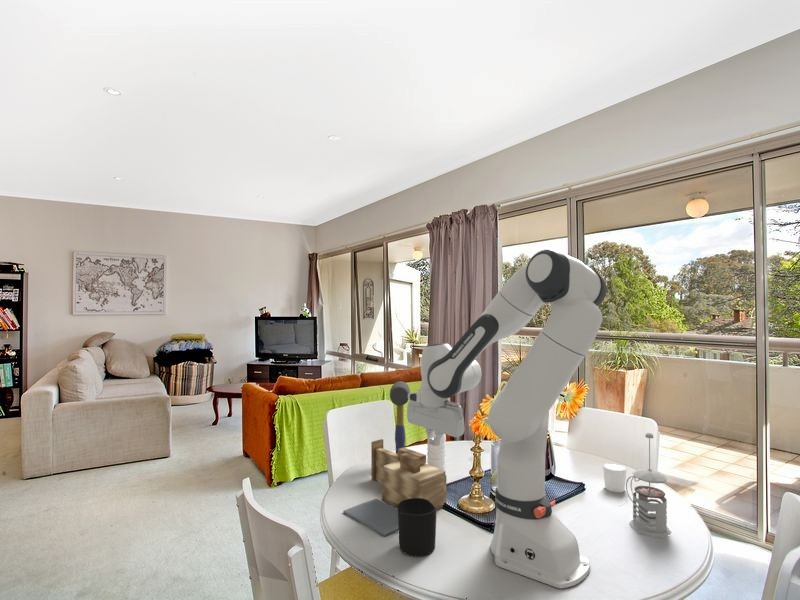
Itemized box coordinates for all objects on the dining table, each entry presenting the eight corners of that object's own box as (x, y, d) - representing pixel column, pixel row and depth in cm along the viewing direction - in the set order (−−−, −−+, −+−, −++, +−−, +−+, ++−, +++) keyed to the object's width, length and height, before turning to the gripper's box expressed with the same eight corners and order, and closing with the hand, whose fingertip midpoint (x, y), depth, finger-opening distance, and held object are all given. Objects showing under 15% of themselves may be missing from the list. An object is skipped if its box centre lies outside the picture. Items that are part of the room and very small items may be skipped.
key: (426, 463, 139) (426, 455, 139) (420, 465, 137) (420, 456, 137) (403, 455, 146) (403, 447, 146) (397, 456, 144) (397, 449, 144)
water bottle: (447, 468, 163) (447, 398, 163) (444, 475, 157) (443, 402, 157) (423, 466, 166) (423, 397, 166) (419, 472, 159) (419, 400, 159)
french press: (652, 540, 114) (652, 440, 114) (615, 520, 124) (614, 428, 125) (680, 533, 117) (680, 436, 117) (641, 513, 128) (641, 424, 128)
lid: (445, 475, 133) (445, 457, 133) (419, 485, 126) (419, 466, 126) (408, 461, 144) (408, 445, 144) (383, 469, 137) (382, 452, 137)
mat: (418, 521, 124) (418, 519, 124) (385, 536, 115) (385, 534, 115) (376, 500, 137) (376, 498, 137) (343, 512, 129) (343, 510, 129)
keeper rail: (405, 487, 147) (405, 447, 147) (395, 491, 144) (395, 450, 144) (381, 476, 155) (381, 439, 155) (371, 480, 152) (371, 441, 152)
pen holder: (441, 541, 113) (441, 501, 113) (429, 561, 104) (429, 518, 105) (406, 534, 117) (406, 495, 117) (391, 553, 108) (391, 511, 108)
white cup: (622, 485, 148) (622, 463, 148) (629, 493, 142) (629, 471, 142) (600, 483, 150) (600, 462, 150) (606, 492, 143) (606, 469, 143)
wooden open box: (446, 506, 133) (446, 475, 133) (419, 518, 125) (419, 485, 125) (408, 489, 145) (408, 461, 145) (382, 499, 137) (382, 469, 137)
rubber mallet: (410, 471, 160) (410, 385, 160) (388, 471, 161) (388, 385, 161) (410, 459, 173) (410, 379, 173) (390, 458, 173) (390, 379, 173)
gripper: (469, 402, 129) (468, 451, 129) (418, 390, 144) (417, 434, 144) (455, 406, 124) (454, 456, 125) (403, 393, 140) (402, 438, 140)
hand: (434, 444), depth 134 cm, fingers closed
